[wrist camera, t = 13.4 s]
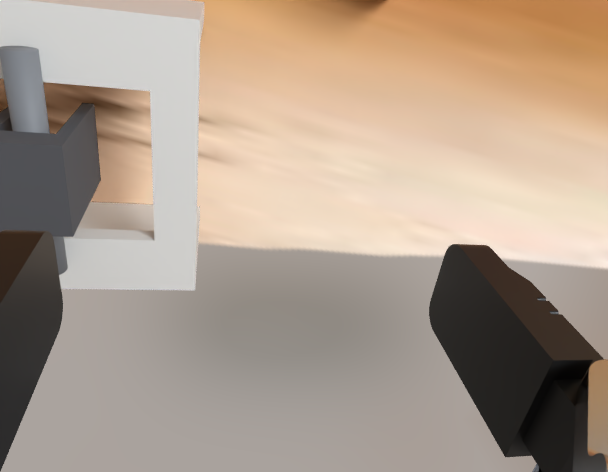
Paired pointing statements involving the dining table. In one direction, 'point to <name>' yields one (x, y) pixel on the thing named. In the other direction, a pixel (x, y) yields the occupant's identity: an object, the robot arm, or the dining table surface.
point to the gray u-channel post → (48, 174)
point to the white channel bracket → (164, 126)
